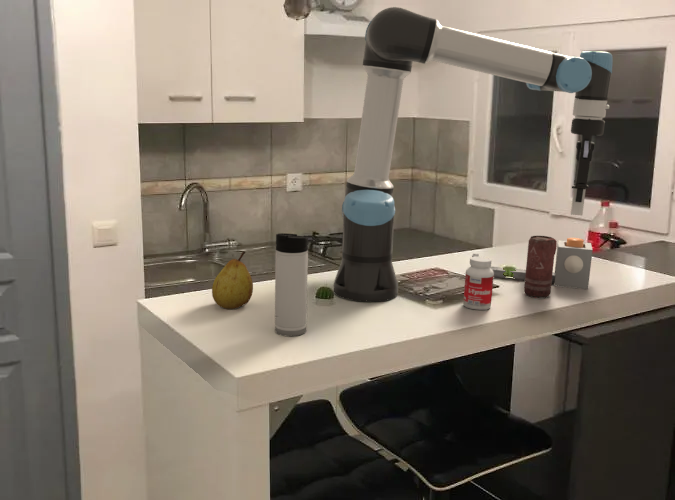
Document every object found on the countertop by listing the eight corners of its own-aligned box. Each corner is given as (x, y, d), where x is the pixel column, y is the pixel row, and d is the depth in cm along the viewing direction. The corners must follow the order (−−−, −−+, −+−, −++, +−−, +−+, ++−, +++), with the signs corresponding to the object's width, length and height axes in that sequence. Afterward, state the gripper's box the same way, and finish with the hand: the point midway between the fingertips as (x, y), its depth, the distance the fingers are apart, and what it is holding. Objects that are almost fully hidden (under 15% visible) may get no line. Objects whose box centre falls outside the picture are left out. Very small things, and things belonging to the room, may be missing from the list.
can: (552, 299, 171) (558, 241, 168) (524, 297, 172) (529, 239, 169) (550, 292, 177) (556, 235, 173) (523, 290, 178) (528, 234, 175)
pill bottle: (464, 309, 161) (467, 261, 159) (462, 301, 167) (465, 254, 165) (492, 311, 161) (496, 263, 158) (489, 303, 167) (493, 256, 164)
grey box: (554, 286, 182) (558, 247, 180) (554, 277, 190) (557, 240, 187) (588, 289, 180) (592, 250, 178) (586, 280, 188) (590, 243, 185)
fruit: (207, 310, 156) (206, 256, 153) (219, 298, 164) (219, 246, 161) (246, 313, 154) (246, 258, 152) (257, 301, 163) (257, 248, 160)
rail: (470, 274, 190) (471, 256, 189) (471, 272, 193) (473, 253, 192) (554, 283, 185) (556, 264, 184) (554, 280, 188) (556, 261, 186)
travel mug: (267, 332, 144) (267, 233, 139) (287, 323, 149) (289, 227, 144) (292, 339, 140) (294, 238, 136) (312, 330, 146) (314, 232, 141)
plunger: (564, 265, 183) (567, 240, 181) (564, 262, 186) (566, 237, 185) (581, 267, 182) (584, 241, 180) (580, 263, 185) (583, 238, 184)
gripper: (607, 120, 168) (593, 220, 174) (603, 117, 181) (590, 211, 186) (573, 118, 170) (561, 217, 176) (571, 115, 182) (560, 208, 188)
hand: (576, 214), depth 181 cm, fingers closed
